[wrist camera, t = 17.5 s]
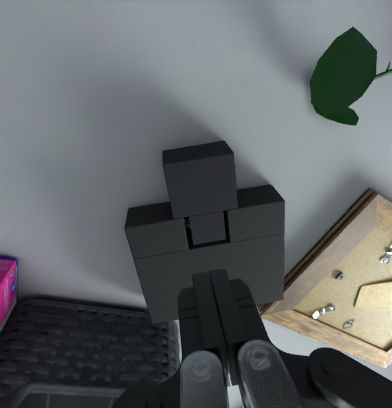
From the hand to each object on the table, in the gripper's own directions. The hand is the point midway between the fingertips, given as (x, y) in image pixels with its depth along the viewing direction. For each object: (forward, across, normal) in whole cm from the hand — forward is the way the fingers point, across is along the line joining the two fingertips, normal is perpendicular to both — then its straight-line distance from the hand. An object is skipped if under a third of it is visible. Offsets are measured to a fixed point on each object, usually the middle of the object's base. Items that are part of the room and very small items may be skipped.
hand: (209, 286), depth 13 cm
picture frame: (+16, -21, +20) cm, 33 cm away
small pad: (+16, -1, +3) cm, 16 cm away
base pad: (+16, -1, +10) cm, 19 cm away
